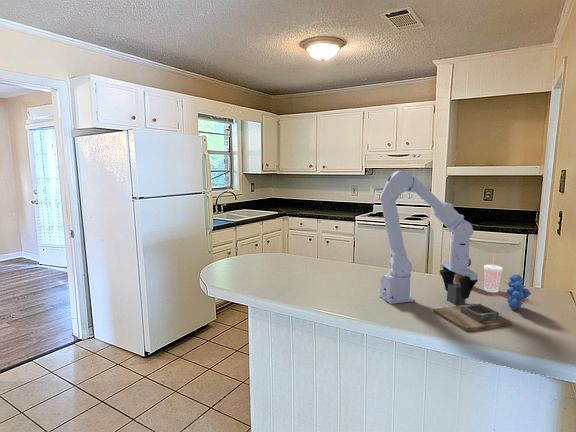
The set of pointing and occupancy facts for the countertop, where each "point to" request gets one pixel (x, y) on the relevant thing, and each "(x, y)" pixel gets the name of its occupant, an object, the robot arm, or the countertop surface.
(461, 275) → the cork
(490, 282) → the beverage cup
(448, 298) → the plug
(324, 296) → the countertop surface
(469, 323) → the charging dock
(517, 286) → the grapes
